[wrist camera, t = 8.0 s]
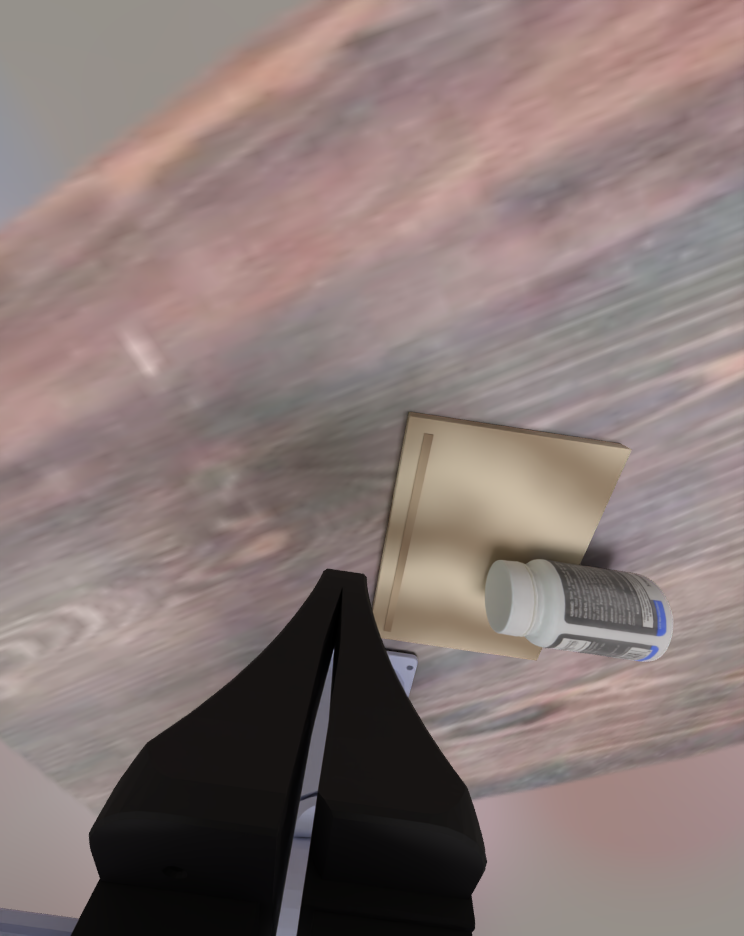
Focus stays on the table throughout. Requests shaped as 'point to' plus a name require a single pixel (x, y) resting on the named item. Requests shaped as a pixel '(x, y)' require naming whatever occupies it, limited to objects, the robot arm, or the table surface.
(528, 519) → the beech board
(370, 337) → the table surface
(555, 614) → the pill bottle
